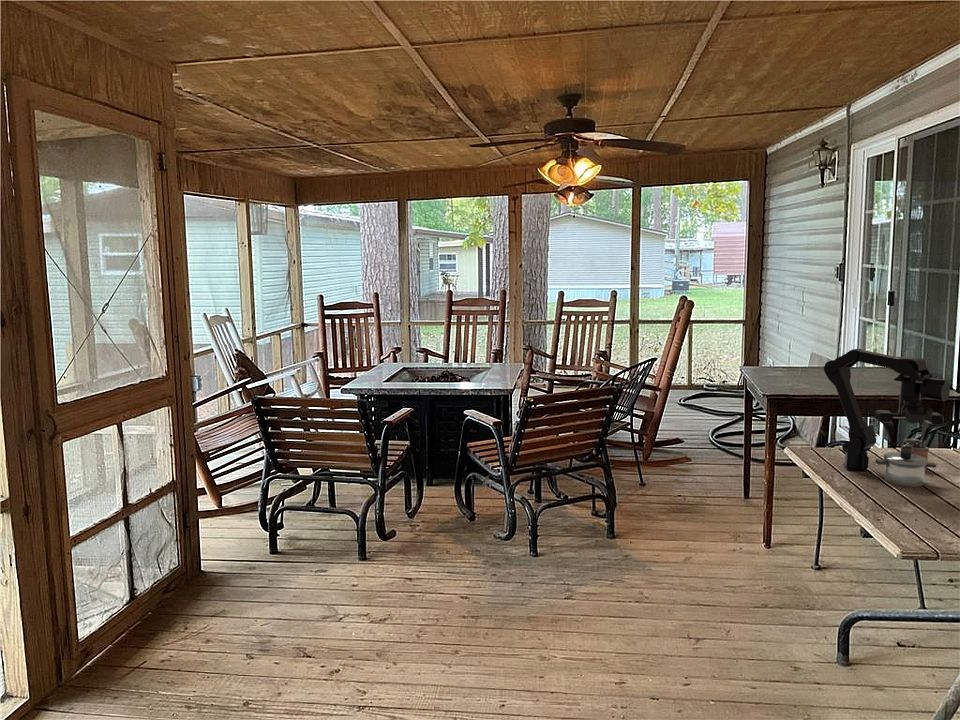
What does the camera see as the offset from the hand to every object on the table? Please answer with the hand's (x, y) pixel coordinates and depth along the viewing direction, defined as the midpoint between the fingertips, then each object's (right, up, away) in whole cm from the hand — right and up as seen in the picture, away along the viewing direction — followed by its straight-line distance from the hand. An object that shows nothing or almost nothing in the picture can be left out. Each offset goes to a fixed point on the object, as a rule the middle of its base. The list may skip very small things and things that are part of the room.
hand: (906, 442), depth 228 cm
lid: (0, -6, +1) cm, 6 cm away
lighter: (+12, -11, +16) cm, 23 cm away
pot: (0, -13, +2) cm, 13 cm away
